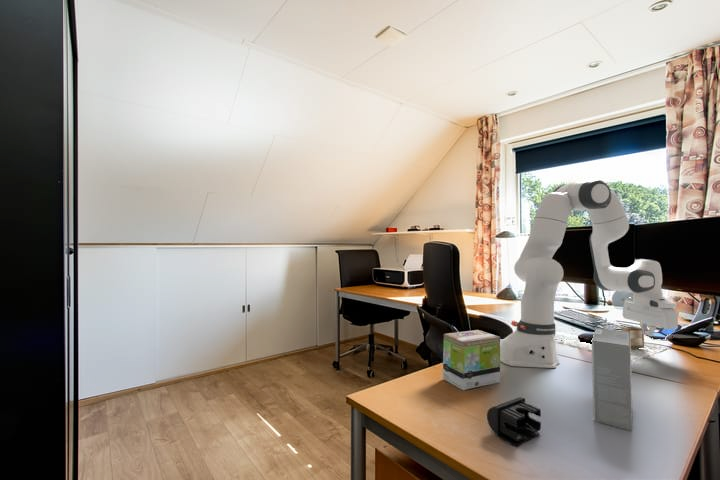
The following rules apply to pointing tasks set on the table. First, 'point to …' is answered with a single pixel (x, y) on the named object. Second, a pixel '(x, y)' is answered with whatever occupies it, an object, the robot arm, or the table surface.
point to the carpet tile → (587, 346)
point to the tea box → (471, 359)
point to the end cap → (514, 421)
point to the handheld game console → (664, 332)
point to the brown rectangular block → (635, 336)
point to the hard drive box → (612, 378)
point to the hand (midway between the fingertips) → (648, 335)
